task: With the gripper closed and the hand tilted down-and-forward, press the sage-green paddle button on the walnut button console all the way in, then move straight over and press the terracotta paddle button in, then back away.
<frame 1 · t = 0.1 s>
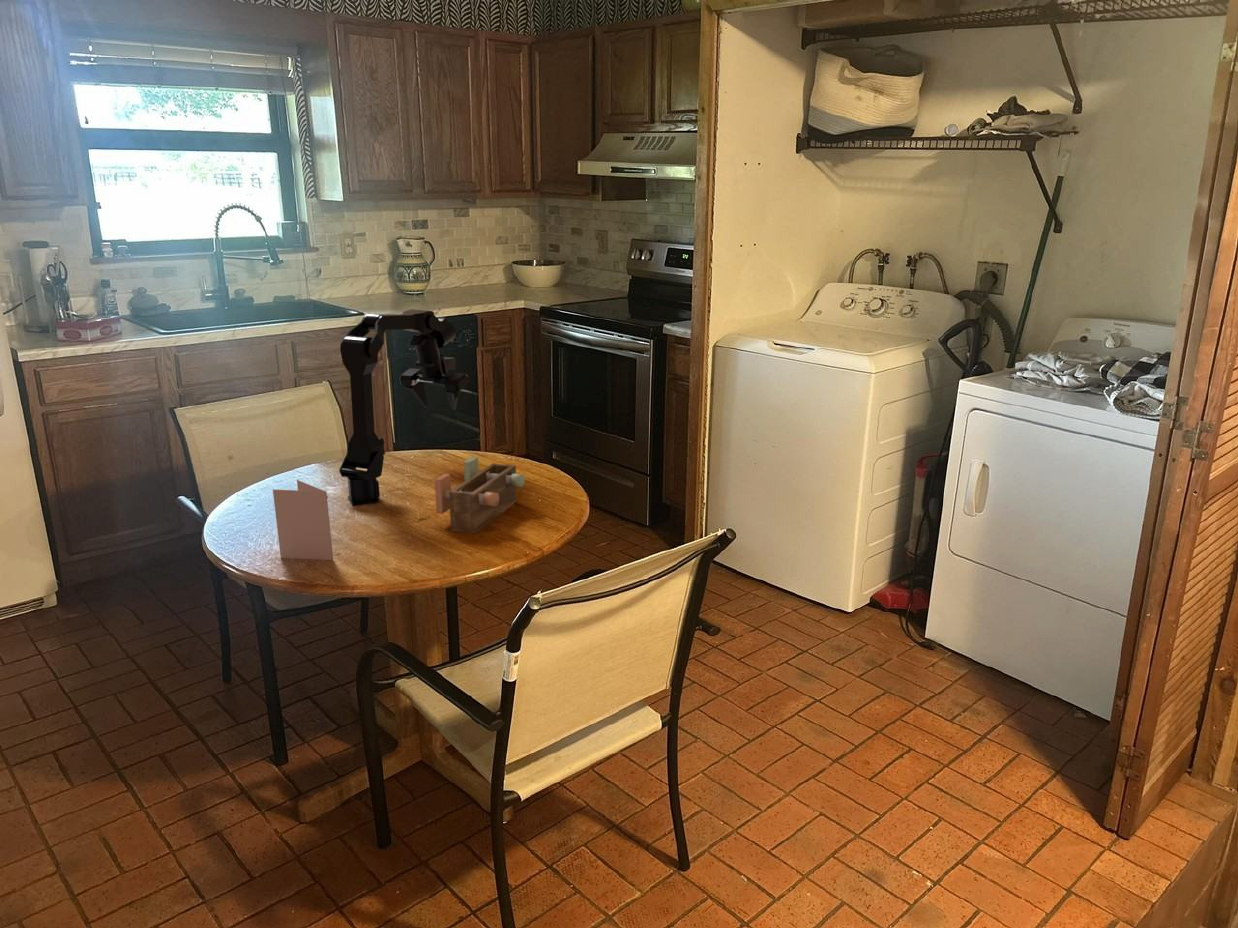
hand: (440, 407, 250), 15 cm above the table, tool pointing down, fingers open, 9 cm apart
greeting card: (306, 557, 191), on the table
terracotta button: (468, 496, 206), point 7 cm above the table, slide at 0.0 cm
sage button: (495, 477, 219), point 7 cm above the table, slide at 0.0 cm
console: (485, 515, 215), on the table
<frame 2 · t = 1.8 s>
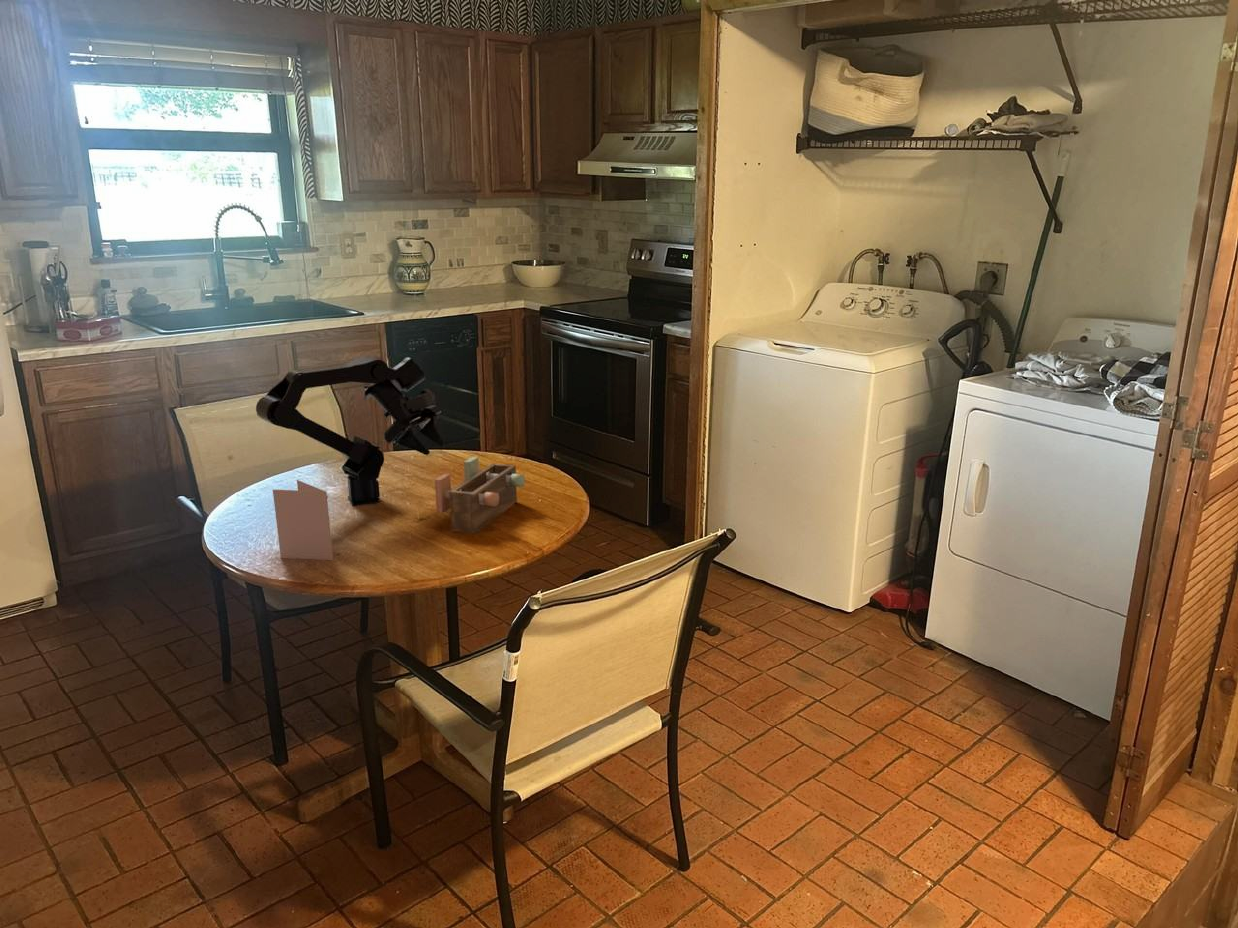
hand: (436, 449, 222), 13 cm above the table, tool tilted 45°, fingers open, 7 cm apart
nothing on the table moved.
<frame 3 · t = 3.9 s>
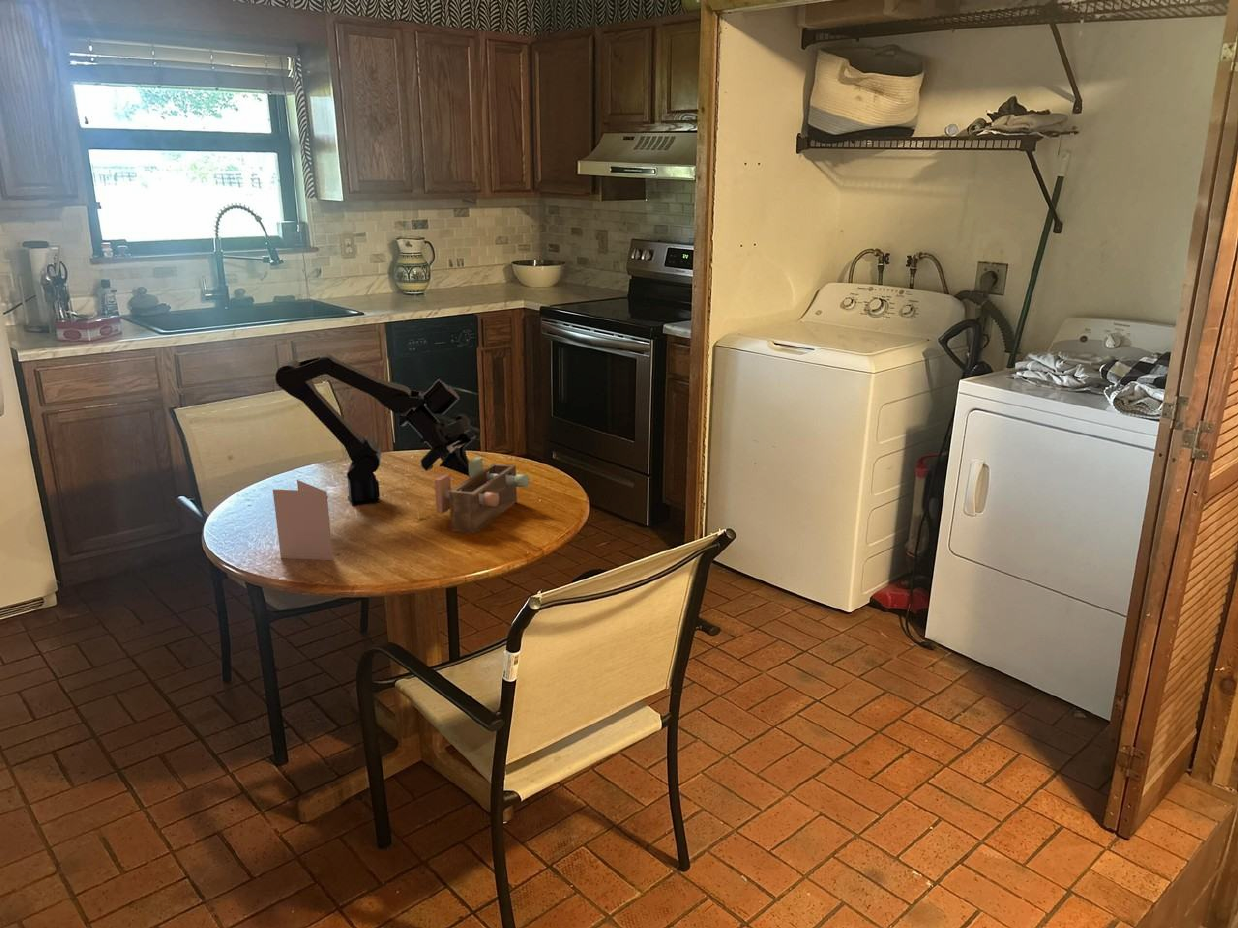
hand: (472, 475, 221), 7 cm above the table, tool tilted 45°, fingers closed, pressing on sage button
sage button: (499, 478, 219), point 7 cm above the table, slide at 1.2 cm, touching gripper
everything else where it was.
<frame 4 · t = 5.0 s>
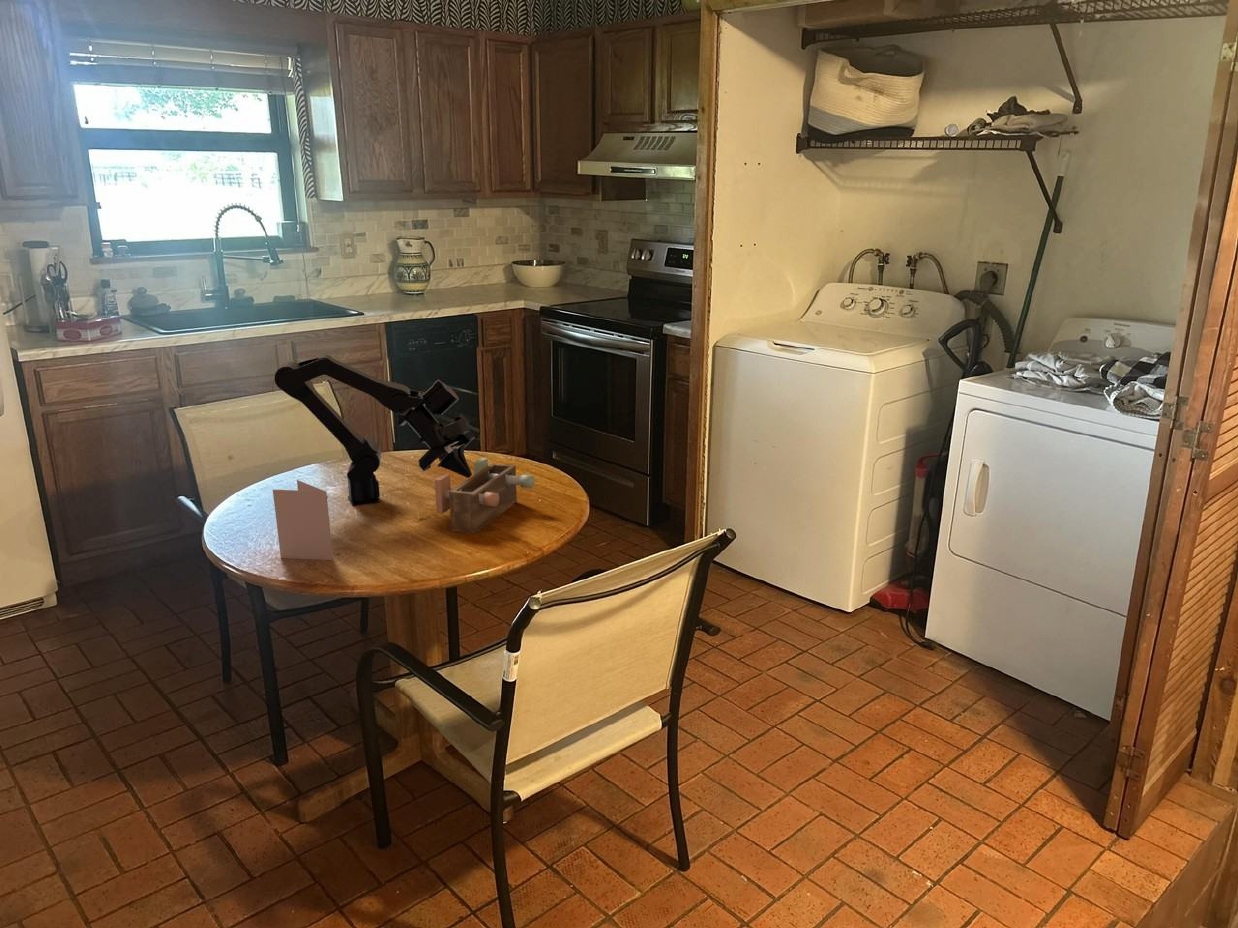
hand: (470, 476, 221), 7 cm above the table, tool tilted 45°, fingers closed
sage button: (505, 478, 218), point 7 cm above the table, slide at 2.6 cm
everything else where it was.
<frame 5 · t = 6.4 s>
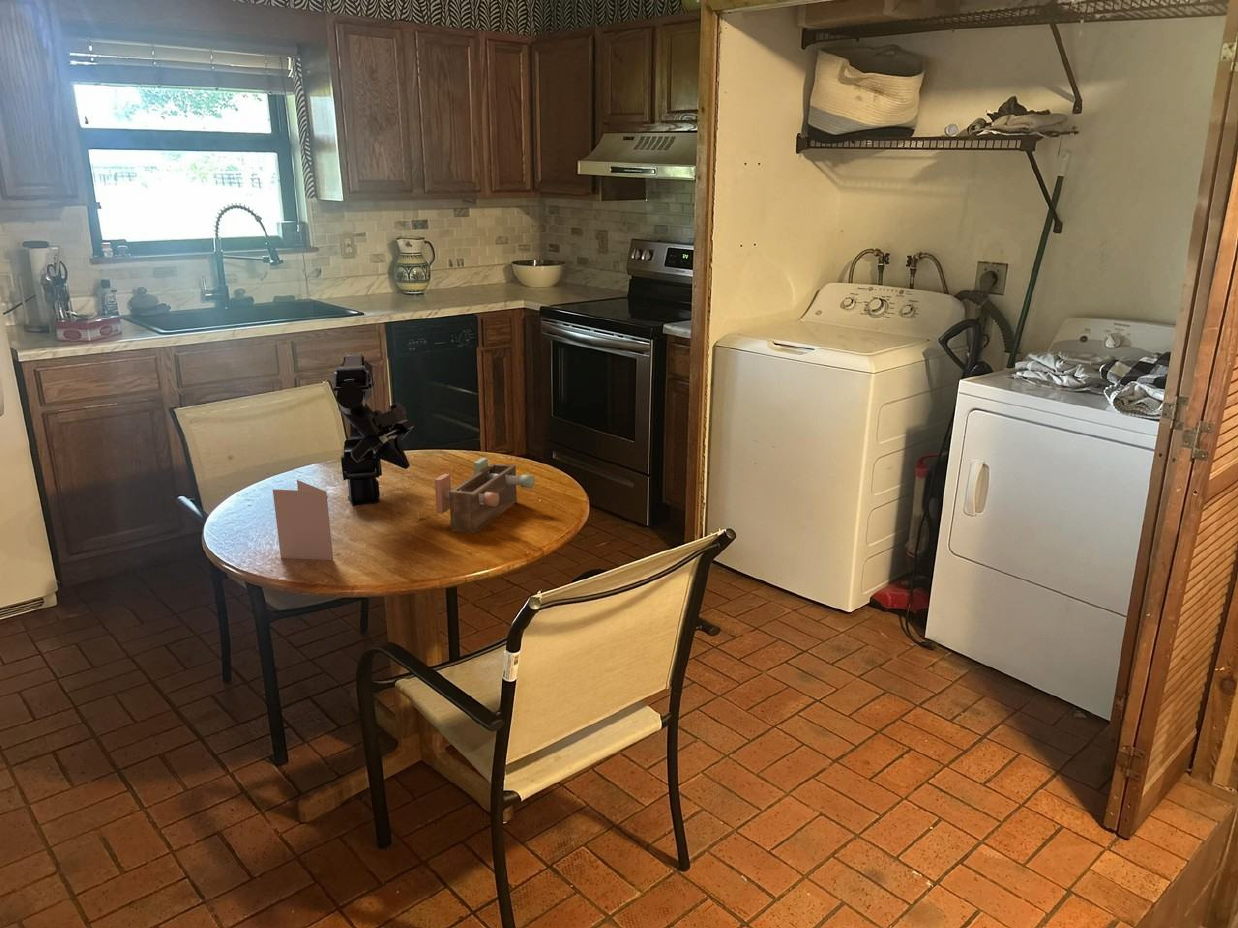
hand: (408, 467, 210), 12 cm above the table, tool tilted 45°, fingers closed
nothing on the table moved.
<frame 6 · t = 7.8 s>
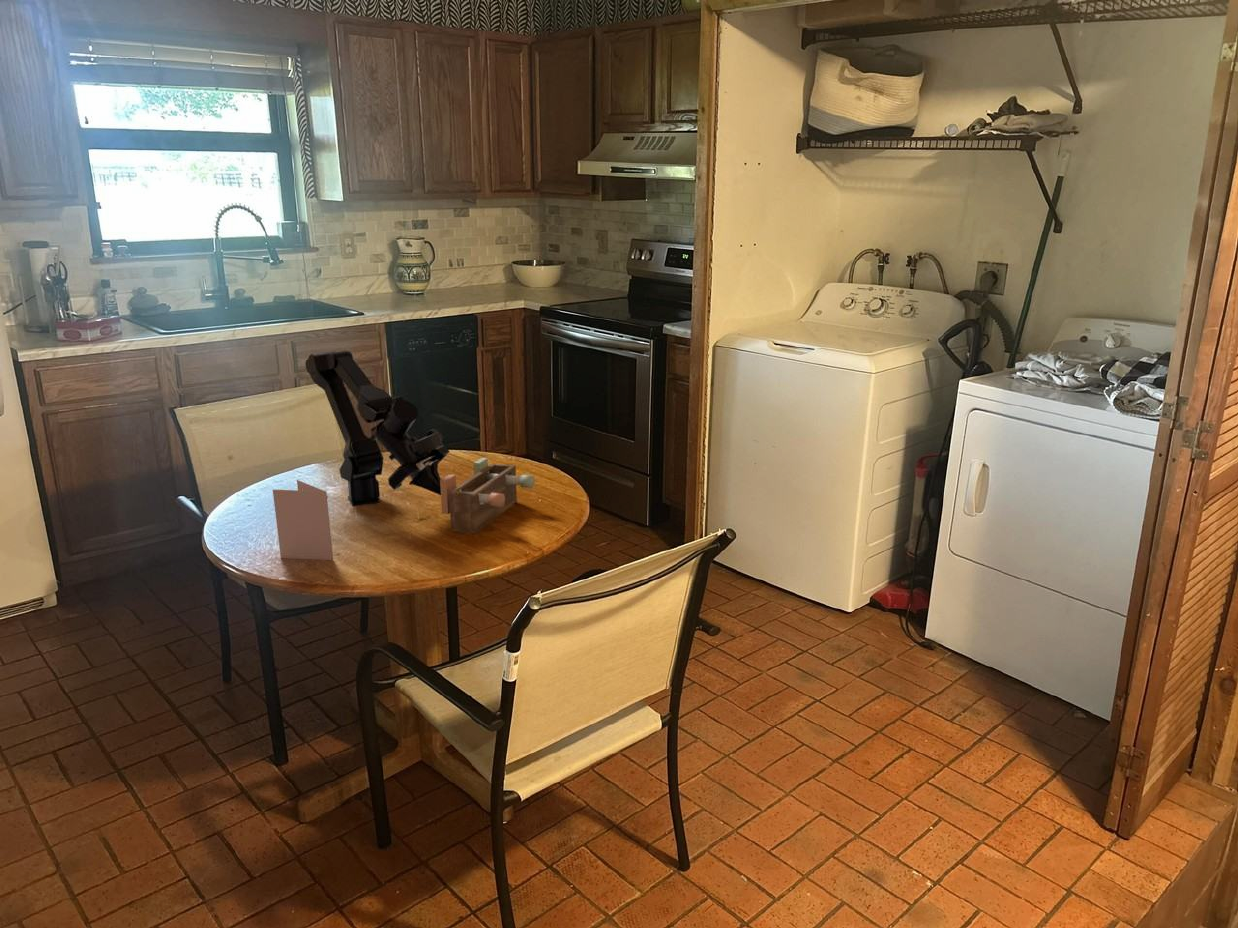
hand: (444, 494, 208), 7 cm above the table, tool tilted 45°, fingers closed, pressing on terracotta button
terracotta button: (473, 497, 206), point 7 cm above the table, slide at 1.4 cm, touching gripper
everything else where it was.
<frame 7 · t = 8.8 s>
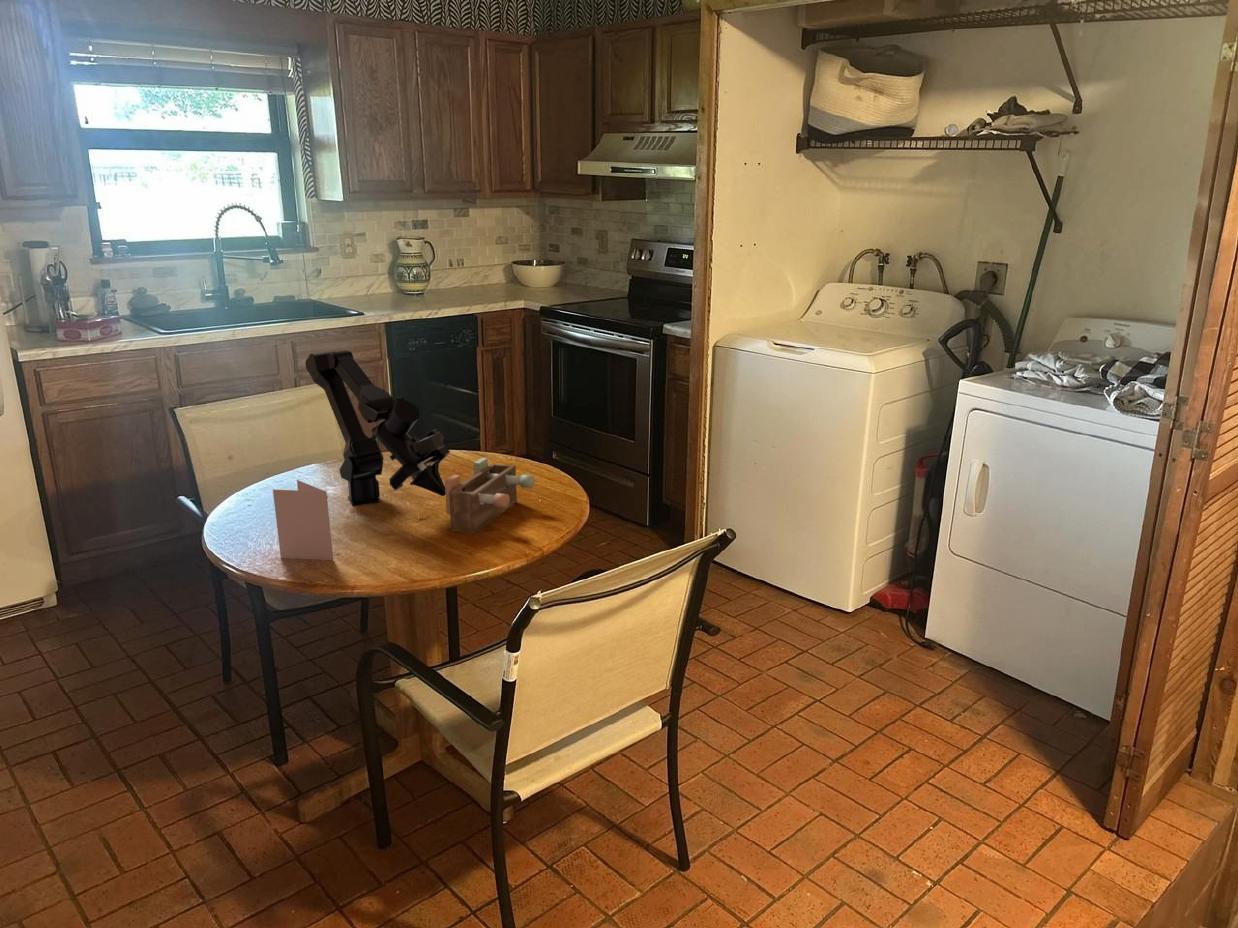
hand: (445, 494, 208), 7 cm above the table, tool tilted 45°, fingers closed
terracotta button: (478, 497, 206), point 7 cm above the table, slide at 2.6 cm
everything else where it was.
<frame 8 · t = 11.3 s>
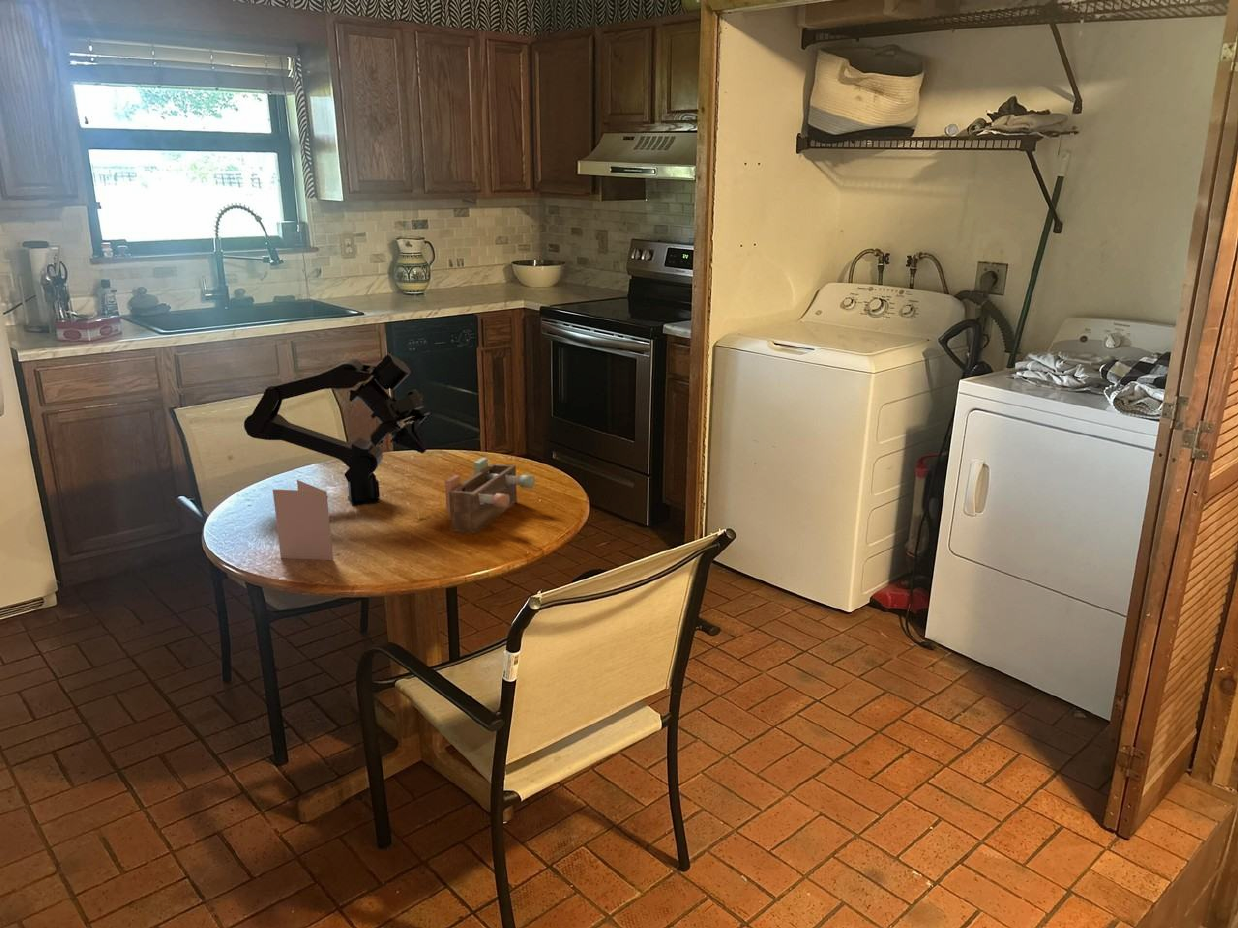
hand: (424, 451, 217), 14 cm above the table, tool tilted 45°, fingers closed
nothing on the table moved.
at the end: sage button slide at 2.6 cm; terracotta button slide at 2.6 cm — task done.
